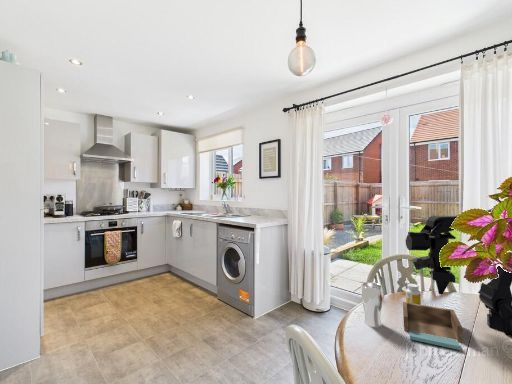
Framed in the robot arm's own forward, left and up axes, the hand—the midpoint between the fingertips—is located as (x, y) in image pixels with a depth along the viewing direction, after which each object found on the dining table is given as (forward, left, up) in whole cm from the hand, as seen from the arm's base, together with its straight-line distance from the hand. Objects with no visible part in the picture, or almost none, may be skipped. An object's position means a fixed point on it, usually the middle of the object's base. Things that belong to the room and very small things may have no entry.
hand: (440, 293), depth 92 cm
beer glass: (+22, +10, -12) cm, 27 cm away
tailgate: (+4, +10, -11) cm, 15 cm away
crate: (+4, +4, -12) cm, 13 cm away
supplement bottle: (+8, -14, -12) cm, 20 cm away
